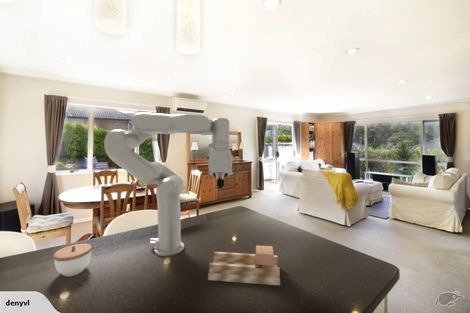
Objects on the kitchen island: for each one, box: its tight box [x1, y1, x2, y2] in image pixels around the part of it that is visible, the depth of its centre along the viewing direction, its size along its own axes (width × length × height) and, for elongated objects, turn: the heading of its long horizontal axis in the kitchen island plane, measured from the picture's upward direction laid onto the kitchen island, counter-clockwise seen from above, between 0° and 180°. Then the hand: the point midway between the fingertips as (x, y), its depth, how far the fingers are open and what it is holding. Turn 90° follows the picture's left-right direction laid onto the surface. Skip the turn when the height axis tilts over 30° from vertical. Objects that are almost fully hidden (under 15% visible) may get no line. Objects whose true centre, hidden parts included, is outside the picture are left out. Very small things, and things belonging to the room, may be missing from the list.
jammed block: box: [255, 245, 274, 267], centre depth 74 cm, size 6×6×7 cm
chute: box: [207, 251, 281, 286], centre depth 75 cm, size 24×12×5 cm, turn 84°
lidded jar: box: [53, 243, 93, 277], centre depth 74 cm, size 11×11×9 cm
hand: (220, 187), depth 92 cm, fingers closed
